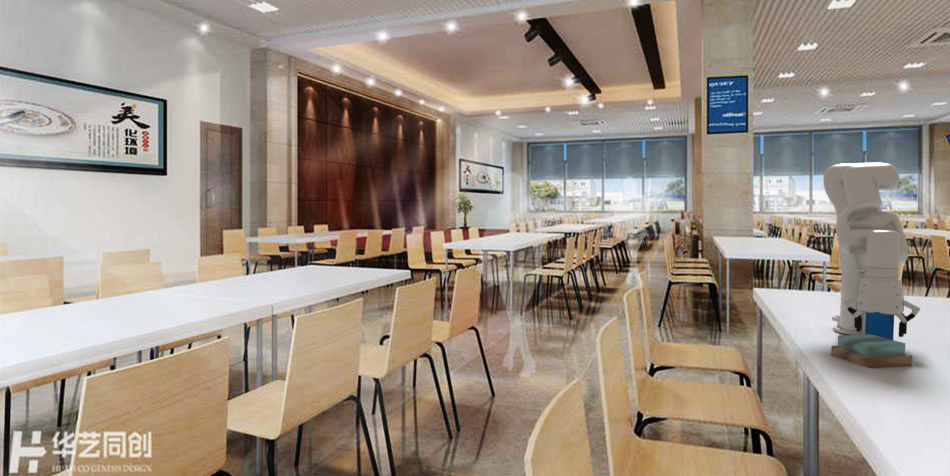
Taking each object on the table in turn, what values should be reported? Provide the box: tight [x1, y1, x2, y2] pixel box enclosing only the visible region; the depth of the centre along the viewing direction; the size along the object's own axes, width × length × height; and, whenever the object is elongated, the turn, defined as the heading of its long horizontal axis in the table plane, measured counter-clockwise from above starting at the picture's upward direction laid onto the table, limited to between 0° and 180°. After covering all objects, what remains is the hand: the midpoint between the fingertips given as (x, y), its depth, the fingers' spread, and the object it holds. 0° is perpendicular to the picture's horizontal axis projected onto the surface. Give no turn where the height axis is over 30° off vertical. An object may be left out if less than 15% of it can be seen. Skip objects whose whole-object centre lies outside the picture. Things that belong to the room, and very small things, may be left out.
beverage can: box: [865, 312, 895, 340], centre depth 150 cm, size 6×6×12 cm
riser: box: [830, 334, 913, 369], centre depth 139 cm, size 12×12×6 cm
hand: (879, 333), depth 150 cm, fingers open, 9 cm apart
